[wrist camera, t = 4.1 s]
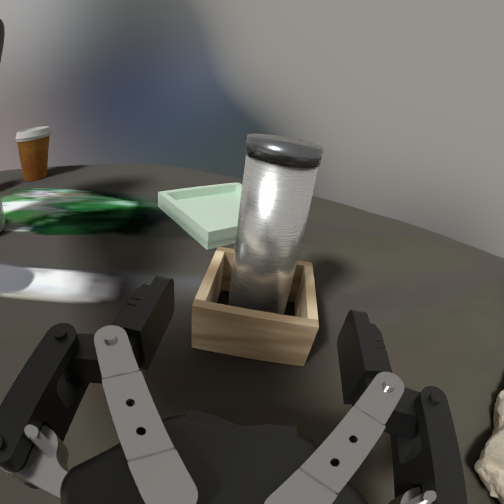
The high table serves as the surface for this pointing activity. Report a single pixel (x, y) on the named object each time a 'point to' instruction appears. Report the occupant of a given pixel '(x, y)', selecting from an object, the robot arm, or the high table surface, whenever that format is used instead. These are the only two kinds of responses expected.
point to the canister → (271, 220)
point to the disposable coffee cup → (33, 152)
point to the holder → (254, 318)
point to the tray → (205, 212)
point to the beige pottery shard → (494, 454)
